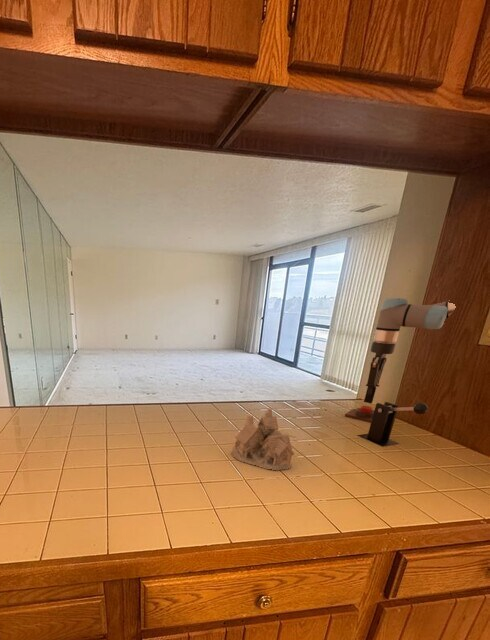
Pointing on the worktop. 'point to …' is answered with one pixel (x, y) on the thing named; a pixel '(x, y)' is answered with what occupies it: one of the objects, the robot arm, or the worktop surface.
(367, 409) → the red button
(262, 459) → the ceramic cottage
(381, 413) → the bracket
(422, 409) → the switch lever
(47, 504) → the worktop surface
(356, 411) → the button block
